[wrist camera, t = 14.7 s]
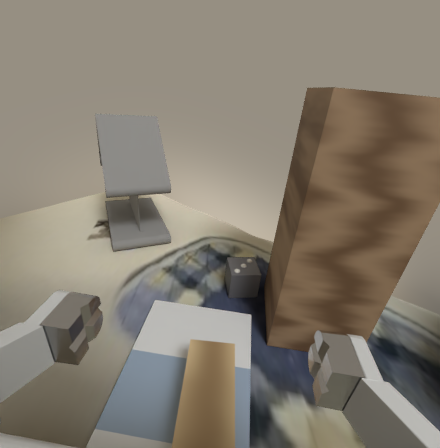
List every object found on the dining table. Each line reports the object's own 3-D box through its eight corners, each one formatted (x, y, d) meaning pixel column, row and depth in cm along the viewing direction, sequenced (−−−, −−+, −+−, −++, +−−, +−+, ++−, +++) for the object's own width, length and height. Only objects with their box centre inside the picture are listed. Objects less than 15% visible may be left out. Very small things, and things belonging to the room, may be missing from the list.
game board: (-134, 944, 8) (-156, 960, 8) (155, 306, 33) (155, 299, 33) (234, 1070, 8) (239, 1097, 7) (249, 321, 32) (251, 314, 32)
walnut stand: (267, 345, 30) (333, 87, 17) (264, 286, 38) (307, 87, 26) (357, 359, 29) (491, 102, 17) (333, 296, 38) (410, 97, 26)
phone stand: (106, 207, 57) (93, 107, 47) (150, 203, 61) (146, 110, 51) (113, 253, 42) (97, 123, 33) (171, 244, 46) (171, 125, 37)
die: (228, 298, 36) (231, 273, 34) (224, 279, 39) (227, 255, 37) (256, 297, 36) (261, 273, 34) (250, 278, 40) (254, 255, 38)
